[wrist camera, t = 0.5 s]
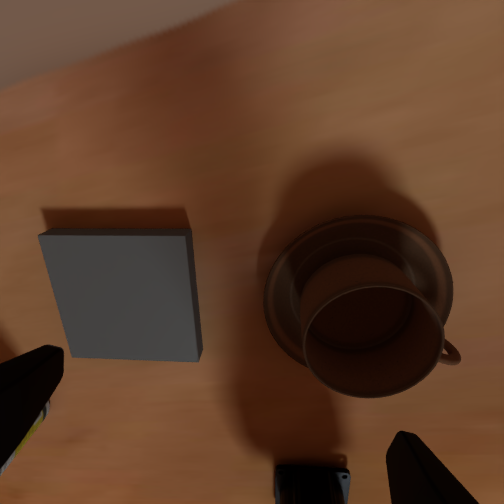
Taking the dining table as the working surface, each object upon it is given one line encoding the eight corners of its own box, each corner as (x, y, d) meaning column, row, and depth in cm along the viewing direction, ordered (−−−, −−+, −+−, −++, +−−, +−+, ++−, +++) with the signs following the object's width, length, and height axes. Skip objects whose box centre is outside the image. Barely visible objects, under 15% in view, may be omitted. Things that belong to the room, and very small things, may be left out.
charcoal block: (204, 345, 27) (198, 362, 25) (86, 341, 27) (71, 357, 26) (193, 226, 23) (185, 235, 21) (56, 226, 24) (37, 235, 22)
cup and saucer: (456, 207, 21) (523, 241, 15) (423, 362, 25) (465, 433, 19) (263, 207, 22) (257, 239, 16) (265, 356, 26) (261, 423, 20)
